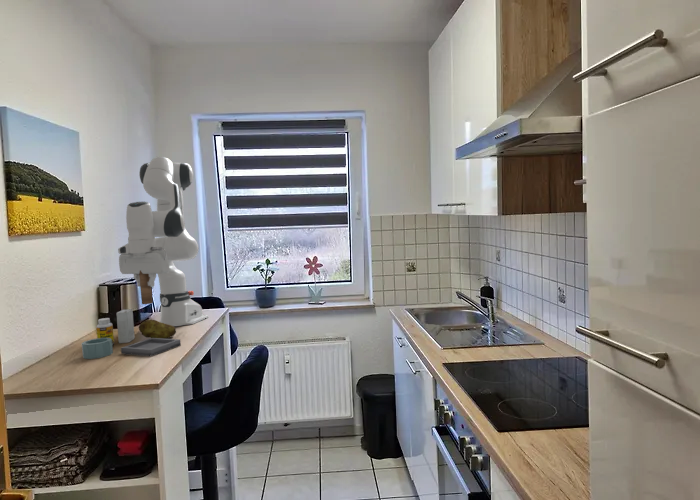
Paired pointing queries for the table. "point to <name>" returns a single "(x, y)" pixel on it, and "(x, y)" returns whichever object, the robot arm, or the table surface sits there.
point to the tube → (97, 348)
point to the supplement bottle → (105, 329)
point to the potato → (156, 329)
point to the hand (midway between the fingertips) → (145, 286)
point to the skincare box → (125, 326)
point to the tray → (150, 346)
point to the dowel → (145, 289)
